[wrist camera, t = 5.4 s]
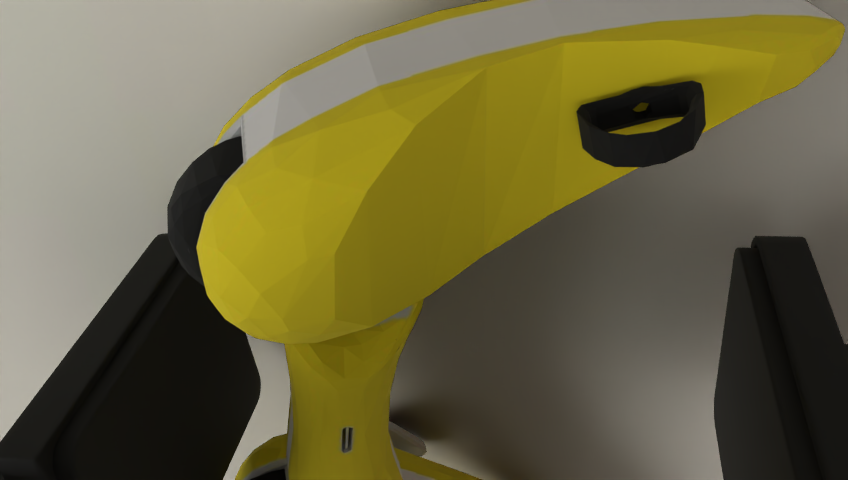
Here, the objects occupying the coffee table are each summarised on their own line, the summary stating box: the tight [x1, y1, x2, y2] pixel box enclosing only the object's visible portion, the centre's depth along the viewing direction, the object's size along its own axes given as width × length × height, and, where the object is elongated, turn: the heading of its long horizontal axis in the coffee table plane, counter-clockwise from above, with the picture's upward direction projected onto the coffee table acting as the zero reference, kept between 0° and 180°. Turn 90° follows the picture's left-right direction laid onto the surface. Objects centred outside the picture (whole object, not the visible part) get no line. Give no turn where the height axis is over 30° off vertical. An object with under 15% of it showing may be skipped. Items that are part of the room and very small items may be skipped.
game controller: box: [168, 0, 845, 480], centre depth 10 cm, size 10×6×4 cm, turn 175°
